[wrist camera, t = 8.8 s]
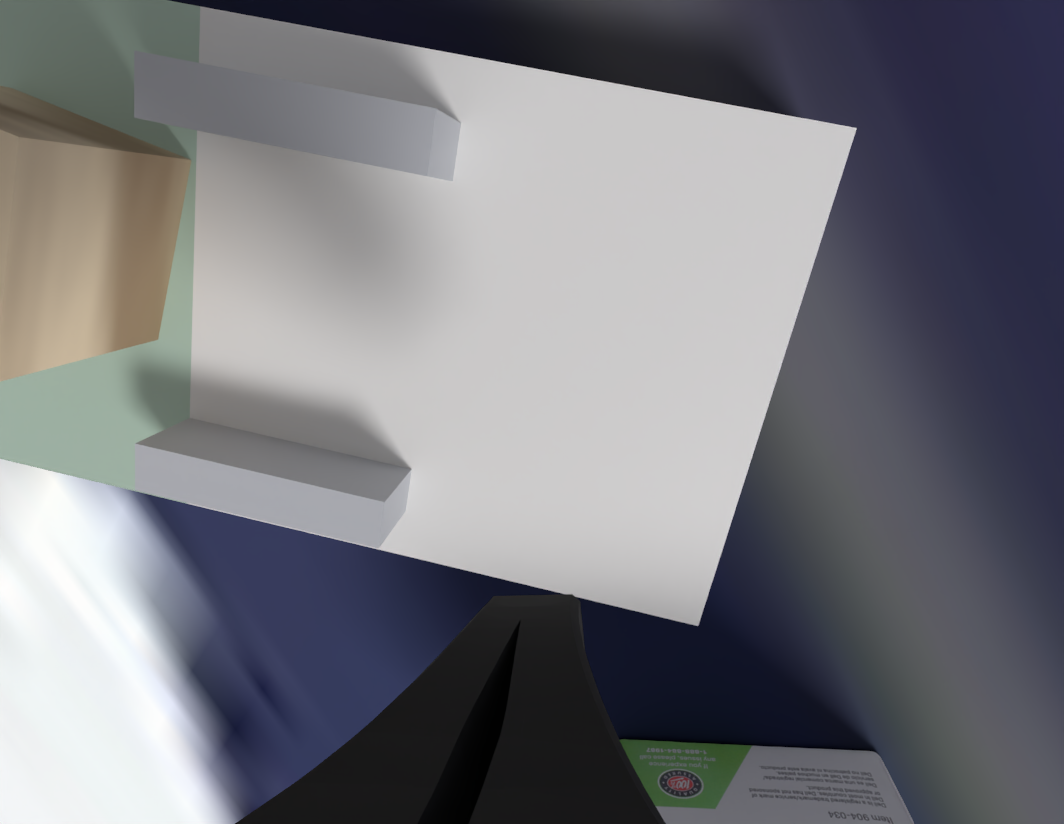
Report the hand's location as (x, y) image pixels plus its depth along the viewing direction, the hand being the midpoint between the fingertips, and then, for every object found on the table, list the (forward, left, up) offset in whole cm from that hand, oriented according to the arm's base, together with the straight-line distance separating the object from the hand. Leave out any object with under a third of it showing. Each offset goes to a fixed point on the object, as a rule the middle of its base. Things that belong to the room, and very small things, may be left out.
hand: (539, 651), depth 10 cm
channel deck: (+10, -3, -9) cm, 14 cm away
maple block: (+13, -4, -6) cm, 15 cm away
